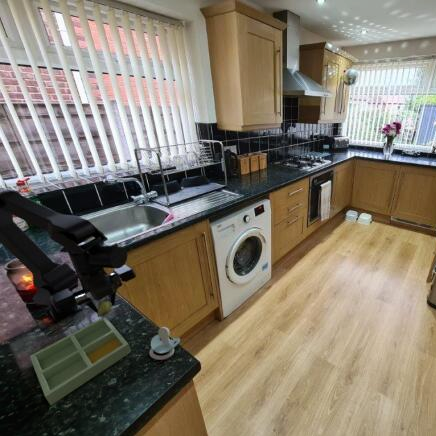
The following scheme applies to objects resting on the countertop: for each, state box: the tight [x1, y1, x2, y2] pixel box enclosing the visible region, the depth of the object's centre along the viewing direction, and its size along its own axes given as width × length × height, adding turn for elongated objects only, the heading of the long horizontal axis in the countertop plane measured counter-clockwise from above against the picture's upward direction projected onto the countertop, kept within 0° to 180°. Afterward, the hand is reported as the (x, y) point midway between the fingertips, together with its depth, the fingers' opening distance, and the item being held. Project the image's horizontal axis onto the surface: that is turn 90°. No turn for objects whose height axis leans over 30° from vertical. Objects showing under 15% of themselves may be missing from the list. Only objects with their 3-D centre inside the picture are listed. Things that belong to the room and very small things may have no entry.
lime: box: [97, 297, 113, 318], centre depth 72 cm, size 4×5×5 cm
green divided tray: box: [29, 316, 132, 406], centre depth 60 cm, size 15×15×3 cm
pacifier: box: [148, 326, 181, 361], centre depth 61 cm, size 7×6×6 cm
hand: (105, 308), depth 73 cm, fingers closed on lime, 3 cm apart
